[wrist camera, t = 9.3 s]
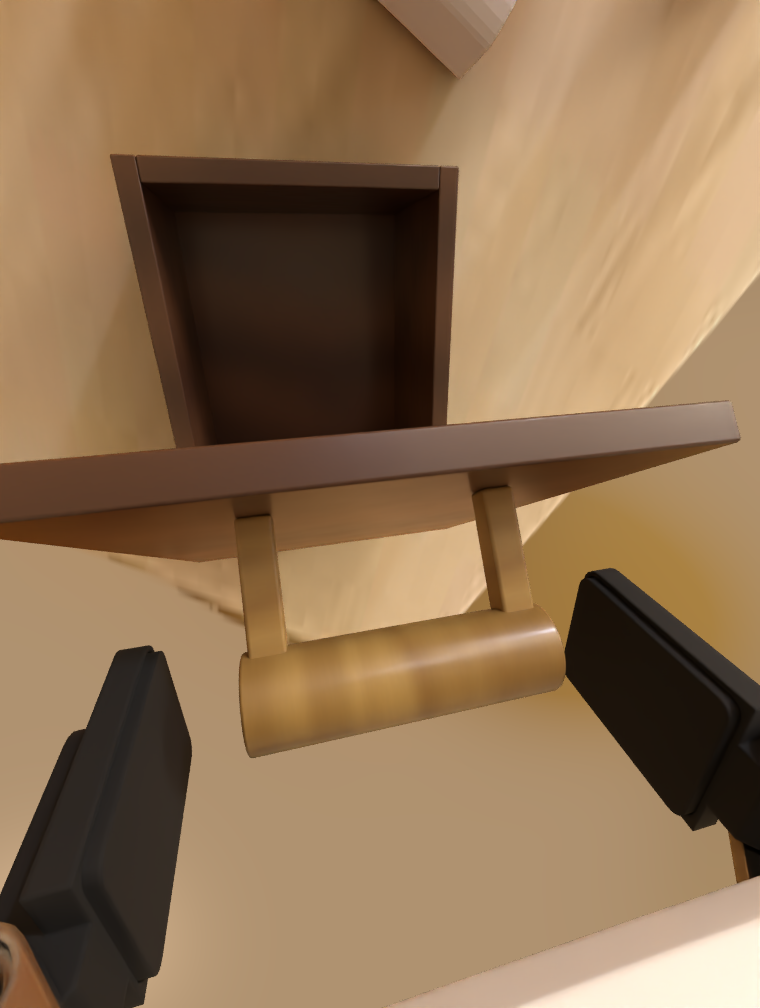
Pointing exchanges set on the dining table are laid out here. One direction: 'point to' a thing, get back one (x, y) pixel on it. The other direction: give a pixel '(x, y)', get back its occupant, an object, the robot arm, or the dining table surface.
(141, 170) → the box
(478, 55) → the charger
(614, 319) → the dining table surface
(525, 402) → the dining table surface
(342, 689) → the lid
